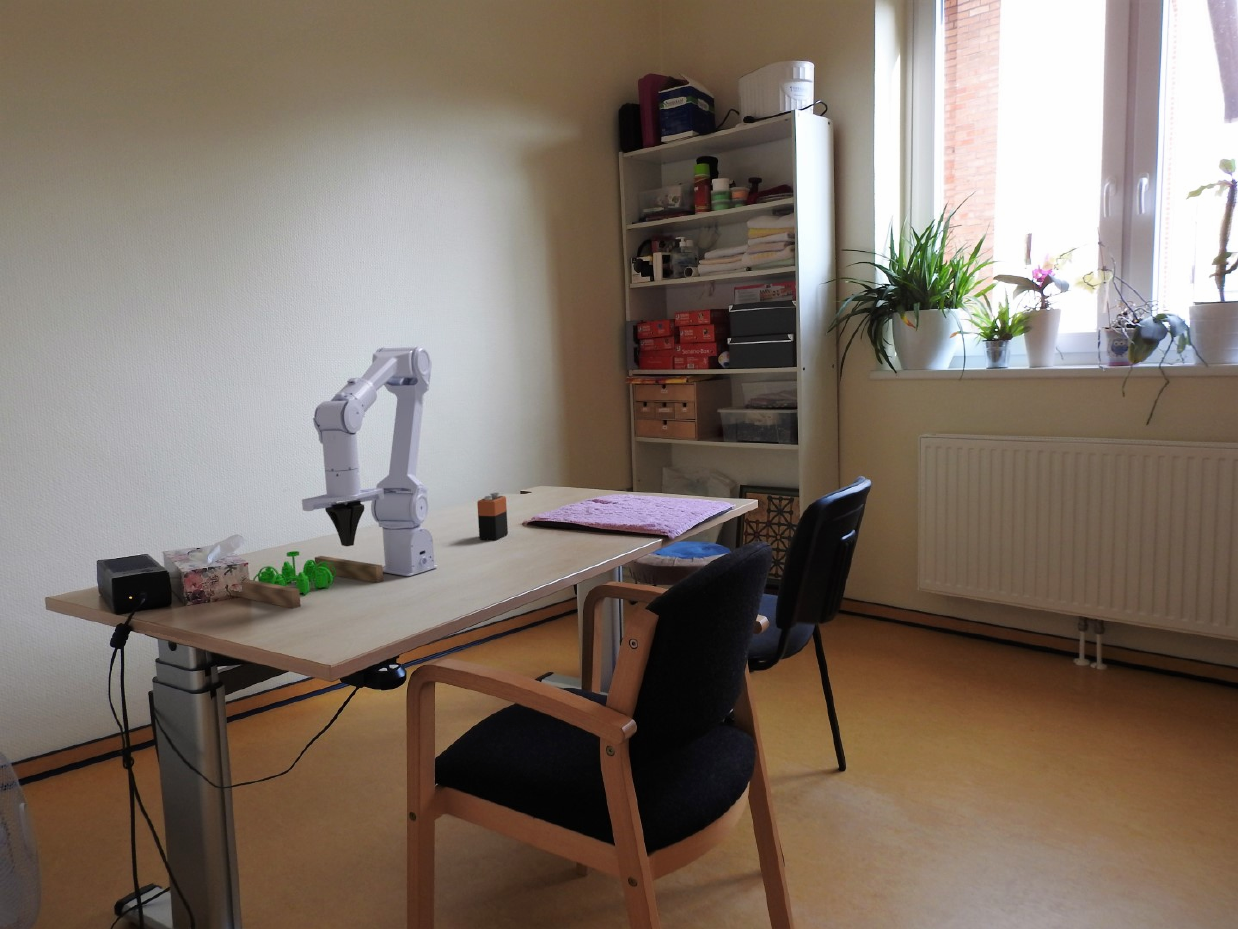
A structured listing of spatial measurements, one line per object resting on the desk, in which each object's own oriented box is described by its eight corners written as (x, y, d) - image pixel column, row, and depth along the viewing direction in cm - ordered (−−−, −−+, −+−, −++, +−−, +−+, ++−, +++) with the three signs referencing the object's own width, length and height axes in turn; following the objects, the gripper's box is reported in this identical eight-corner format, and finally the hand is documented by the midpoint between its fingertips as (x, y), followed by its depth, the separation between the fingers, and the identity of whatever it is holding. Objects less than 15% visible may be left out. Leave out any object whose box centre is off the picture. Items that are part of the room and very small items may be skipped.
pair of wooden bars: (383, 580, 170) (382, 565, 170) (293, 608, 154) (291, 591, 153) (321, 570, 180) (320, 555, 180) (230, 595, 164) (229, 579, 163)
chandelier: (352, 579, 174) (349, 544, 173) (311, 601, 159) (308, 563, 158) (281, 578, 177) (278, 543, 176) (235, 599, 162) (231, 561, 161)
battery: (508, 534, 209) (506, 492, 207) (496, 541, 202) (493, 497, 201) (491, 534, 210) (489, 491, 209) (478, 540, 204) (476, 496, 202)
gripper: (367, 462, 165) (373, 535, 167) (291, 472, 155) (298, 549, 157) (387, 465, 160) (393, 540, 162) (310, 475, 150) (316, 555, 152)
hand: (347, 545), depth 159 cm, fingers closed
